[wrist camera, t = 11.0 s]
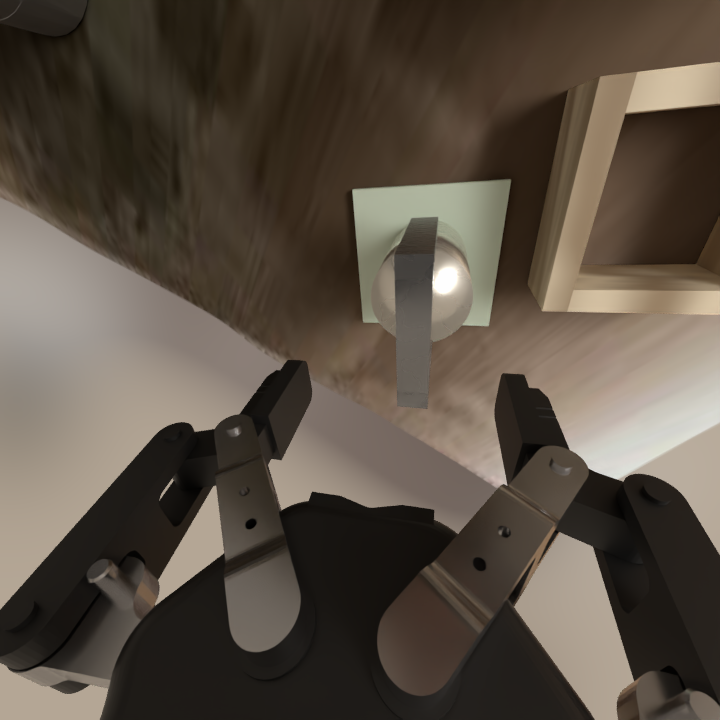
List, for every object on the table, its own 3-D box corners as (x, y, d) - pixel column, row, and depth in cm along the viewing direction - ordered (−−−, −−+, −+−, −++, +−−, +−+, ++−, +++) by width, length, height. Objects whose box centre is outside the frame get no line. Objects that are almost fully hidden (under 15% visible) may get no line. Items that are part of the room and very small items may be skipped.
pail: (390, 306, 29) (358, 403, 18) (387, 205, 24) (342, 255, 14) (461, 308, 27) (470, 412, 17) (472, 200, 23) (492, 252, 13)
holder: (527, 284, 26) (542, 311, 22) (568, 89, 19) (600, 76, 15) (710, 284, 23) (766, 315, 19) (830, 59, 17) (953, 33, 13)
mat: (364, 319, 31) (363, 322, 30) (354, 188, 25) (352, 189, 24) (487, 322, 28) (488, 326, 28) (509, 178, 22) (511, 179, 22)
